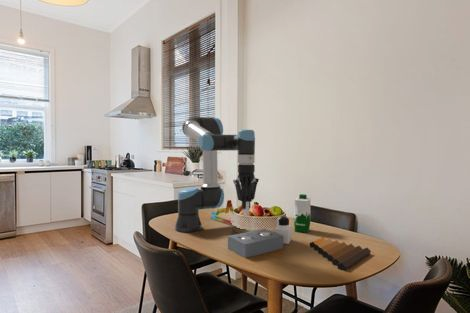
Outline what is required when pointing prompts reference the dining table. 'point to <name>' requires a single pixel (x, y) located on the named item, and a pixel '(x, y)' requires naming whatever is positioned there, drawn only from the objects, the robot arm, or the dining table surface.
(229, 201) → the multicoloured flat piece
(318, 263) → the dining table surface
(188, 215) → the robot arm
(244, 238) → the steel peg
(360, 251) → the pan flute
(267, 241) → the peg block
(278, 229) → the medicine bottle
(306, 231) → the milk carton
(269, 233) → the steel peg
